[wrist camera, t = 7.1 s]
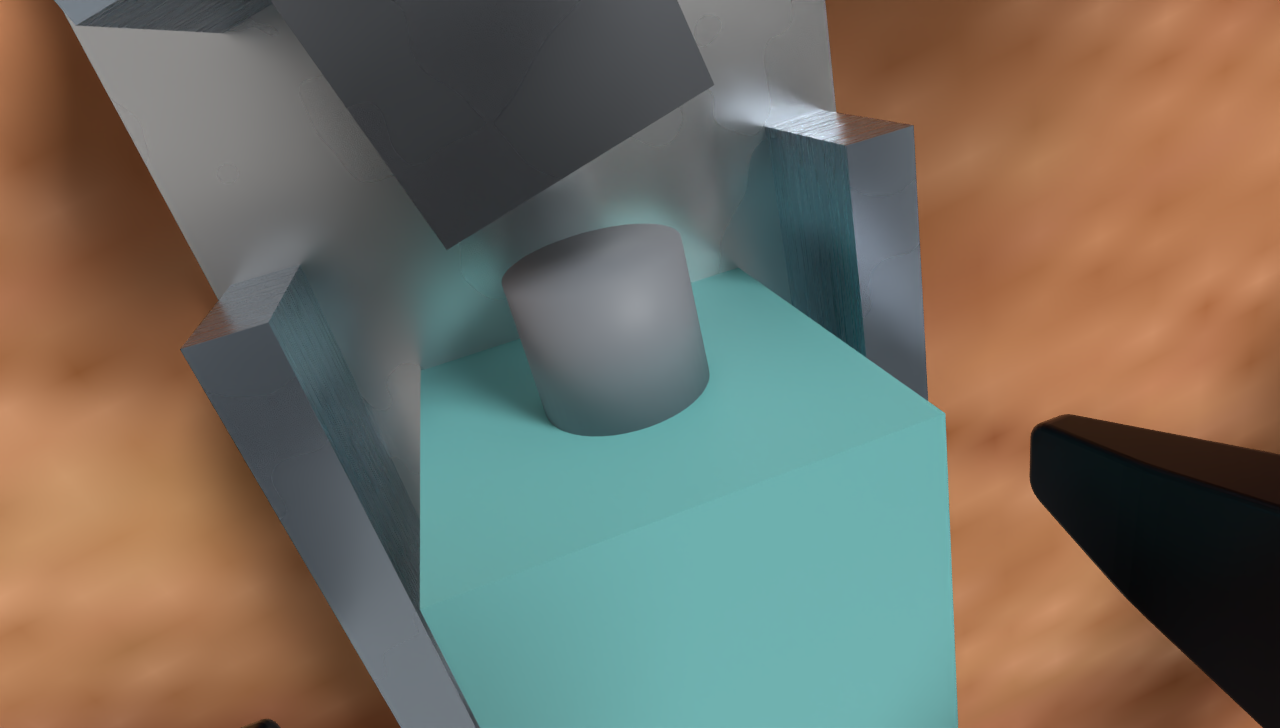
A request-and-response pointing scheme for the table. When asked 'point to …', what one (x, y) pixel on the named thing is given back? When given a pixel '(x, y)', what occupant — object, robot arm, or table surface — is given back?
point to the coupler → (681, 508)
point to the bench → (372, 232)
